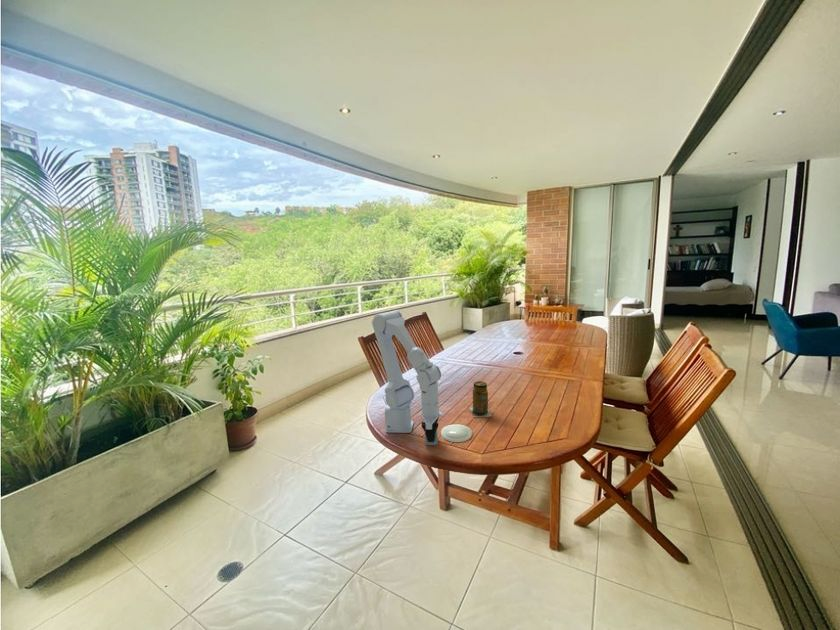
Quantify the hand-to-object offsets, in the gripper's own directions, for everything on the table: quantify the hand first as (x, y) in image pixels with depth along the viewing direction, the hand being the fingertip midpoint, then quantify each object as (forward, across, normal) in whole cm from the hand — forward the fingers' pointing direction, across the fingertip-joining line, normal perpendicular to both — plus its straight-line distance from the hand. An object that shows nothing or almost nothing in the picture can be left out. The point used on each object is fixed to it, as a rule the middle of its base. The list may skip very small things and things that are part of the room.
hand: (431, 437), depth 117 cm
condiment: (+2, +22, -18) cm, 28 cm away
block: (+2, 0, 0) cm, 2 cm away
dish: (+2, +6, -8) cm, 10 cm away
